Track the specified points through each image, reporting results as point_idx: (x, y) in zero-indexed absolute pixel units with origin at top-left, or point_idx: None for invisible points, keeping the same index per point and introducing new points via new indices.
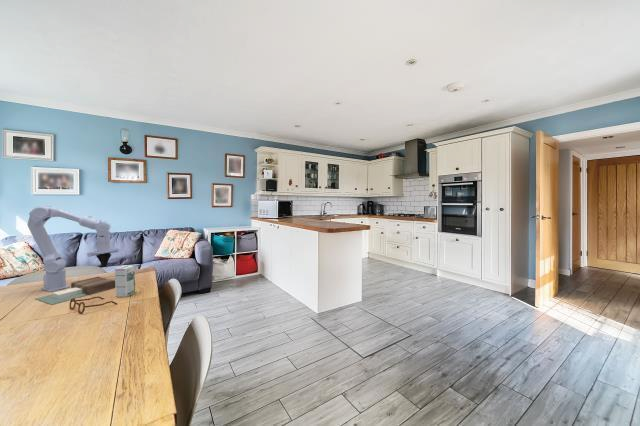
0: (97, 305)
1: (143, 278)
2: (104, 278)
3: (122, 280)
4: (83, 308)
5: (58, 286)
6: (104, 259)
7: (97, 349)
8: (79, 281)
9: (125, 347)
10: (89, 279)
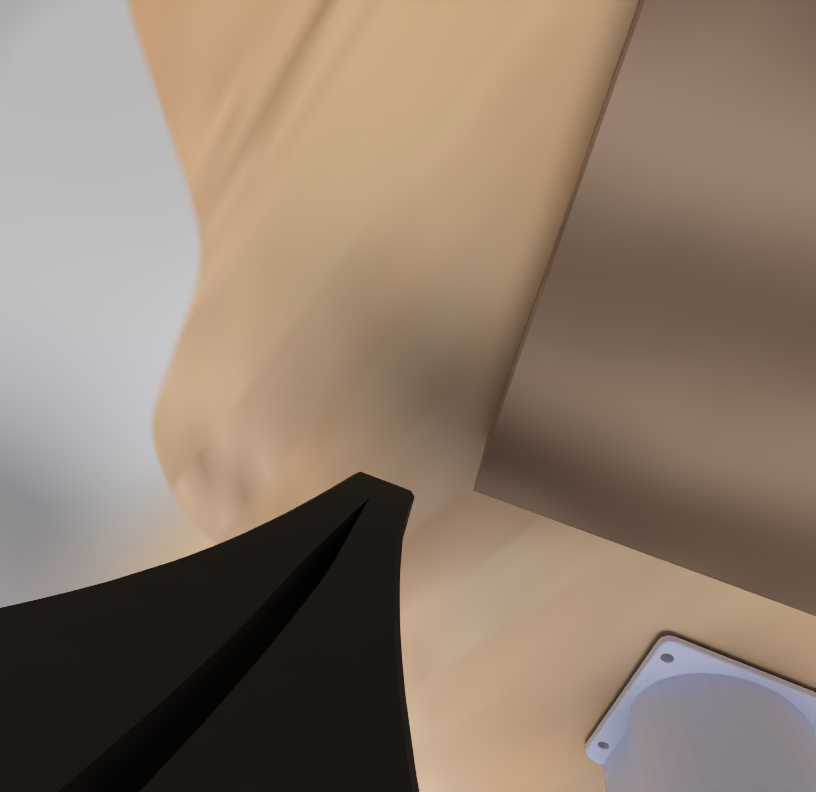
0: None
1: (161, 23)
2: (556, 299)
3: None
4: None
5: (788, 720)
6: (318, 656)
7: None
8: (778, 561)
9: None
10: (641, 498)
